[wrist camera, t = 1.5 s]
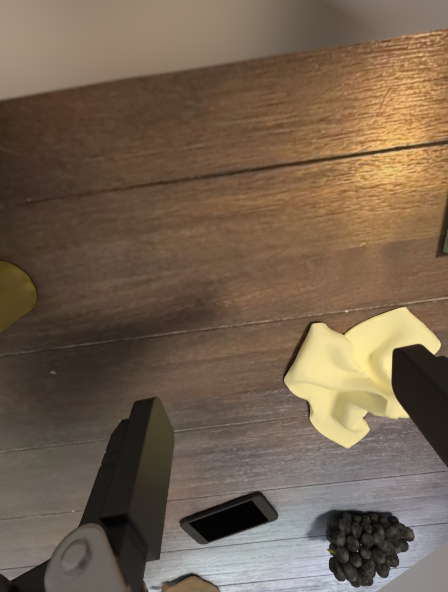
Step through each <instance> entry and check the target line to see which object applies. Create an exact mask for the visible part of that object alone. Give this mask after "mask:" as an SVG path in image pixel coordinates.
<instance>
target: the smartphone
mask: <svg viewBox="0 0 448 592" xmlns="http://www.w3.org/2000/svg"><path fill="white" fill-rule="evenodd" d="M277 518H278V513H277V512H276V510H275V509H274V508H273V507H272V505H271V504H270V503H269V502H268V500H267V499H266V498H265V497H264V496H263V495H262V494H261V493H254V494H251V495H249V496H246V497H243V498H240V499H238V500H235V501H232V502H229V503H227V504H224V505H221V506H219V507H216V508H213V509H210V510H208V511H205V512H202V513H199V514H197V515H194V516H191V517H188V518H186V519H183V520H182V521H181V523H180V526H181V528H182V529H183V530H184V531H185V532H186V533H188V534H189V535H190V536H191V537H192V538H193V539H194V540H195V541H196V542H198V543H199V544H207V543H210V542H213V541H216V540H219V539H222V538H225V537H228V536H231V535H234V534H237V533H240V532H243V531H246V530H249V529H252V528H254V527H257V526H260V525H263V524H266V523H269V522H272V521H275V520H277Z"/></svg>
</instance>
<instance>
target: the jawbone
mask: <svg viewBox="0 0 448 592" xmlns="http://www.w3.org/2000/svg"><path fill="white" fill-rule="evenodd" d="M162 592H220V591H219V590H218V589H217V587H216V586H214V585H213V584H211V583H209V582H205V581H202V580H201V579H200V578H198V577H195V576H191V577H187V578H185V579H184V580H183V581H181V582H179V583H177V584H175V585H173V586H171V585H169V584H168V583H167V582H164V585H163V587H162Z"/></svg>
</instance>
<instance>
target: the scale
mask: <svg viewBox="0 0 448 592" xmlns="http://www.w3.org/2000/svg"><path fill="white" fill-rule="evenodd" d="M443 252H445V253H447V254H448V229H447V233H446V238H445V243H444V248H443Z"/></svg>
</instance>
